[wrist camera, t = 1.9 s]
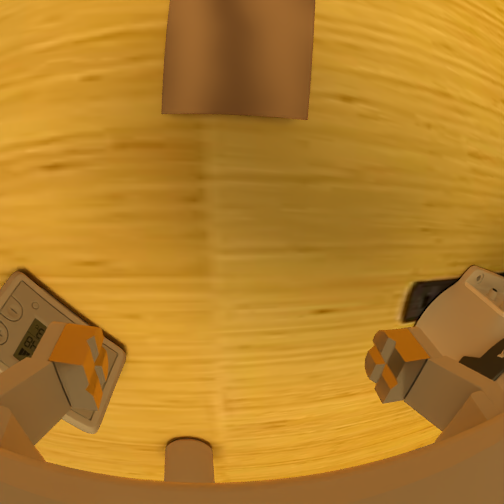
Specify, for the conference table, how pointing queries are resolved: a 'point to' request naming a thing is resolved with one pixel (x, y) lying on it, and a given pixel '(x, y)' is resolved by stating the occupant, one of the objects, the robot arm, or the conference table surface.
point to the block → (239, 57)
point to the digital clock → (32, 330)
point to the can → (188, 462)
